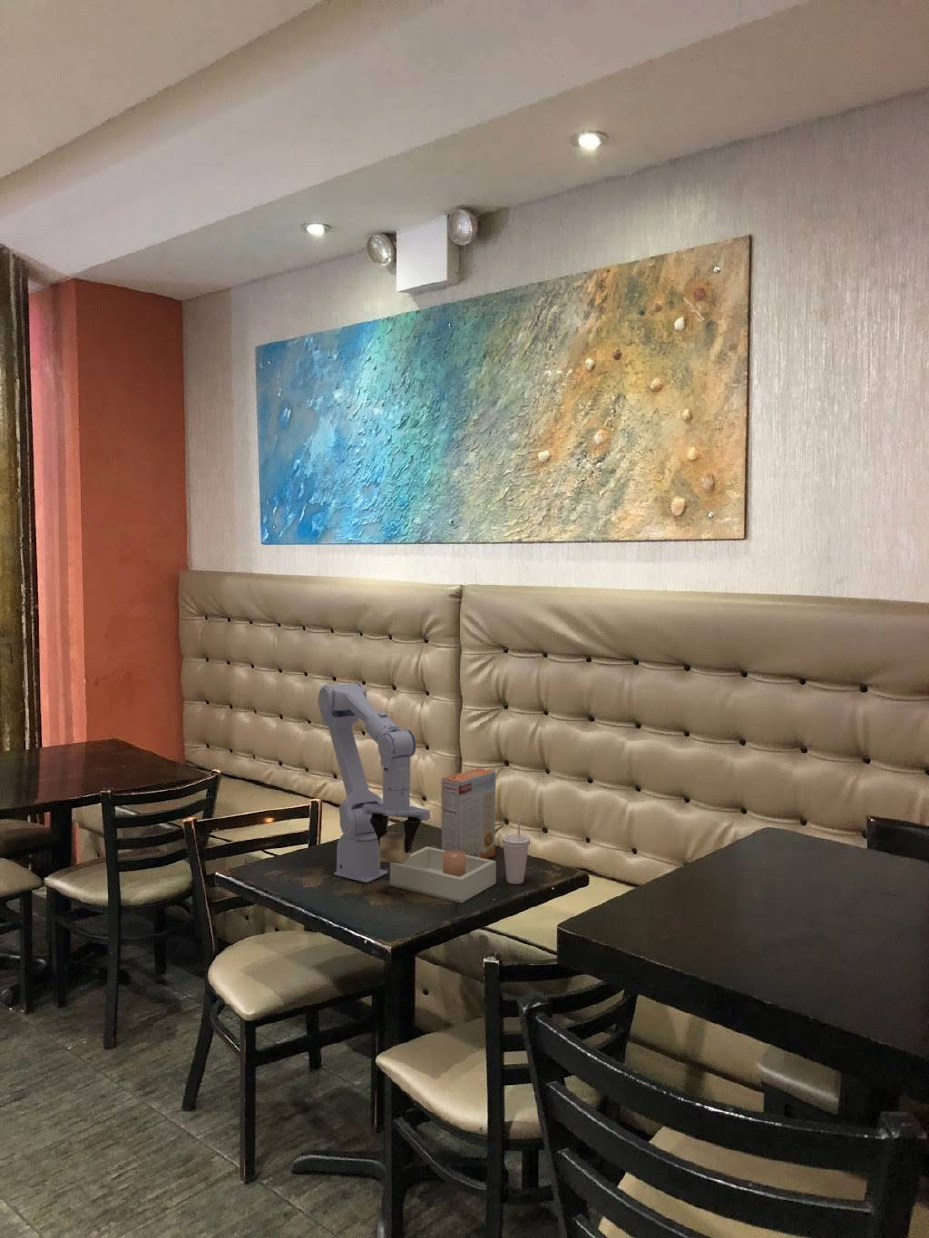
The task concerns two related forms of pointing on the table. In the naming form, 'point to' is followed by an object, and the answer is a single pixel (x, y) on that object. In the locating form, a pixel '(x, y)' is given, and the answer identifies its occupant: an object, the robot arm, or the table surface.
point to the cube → (393, 848)
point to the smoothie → (515, 856)
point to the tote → (442, 876)
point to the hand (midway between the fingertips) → (395, 850)
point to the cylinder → (454, 862)
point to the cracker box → (469, 813)
